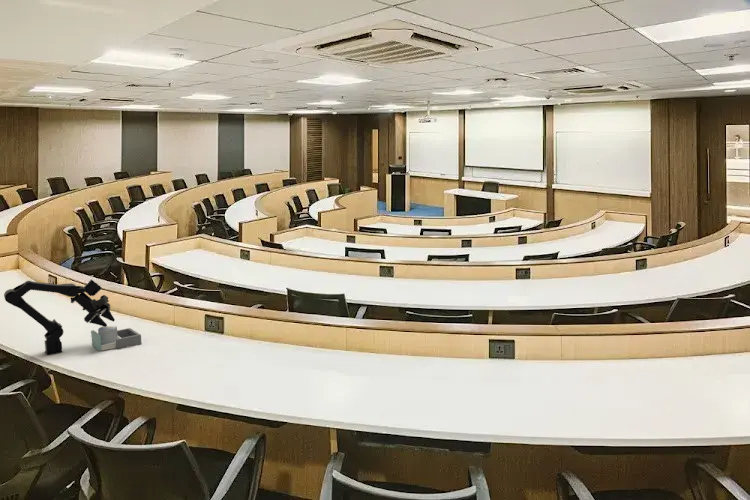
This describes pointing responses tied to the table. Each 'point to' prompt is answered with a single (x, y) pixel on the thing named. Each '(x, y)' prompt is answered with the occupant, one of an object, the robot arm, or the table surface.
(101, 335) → the medicine box
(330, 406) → the table surface
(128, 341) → the dock
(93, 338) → the tray
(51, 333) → the robot arm
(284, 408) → the table surface
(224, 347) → the table surface
